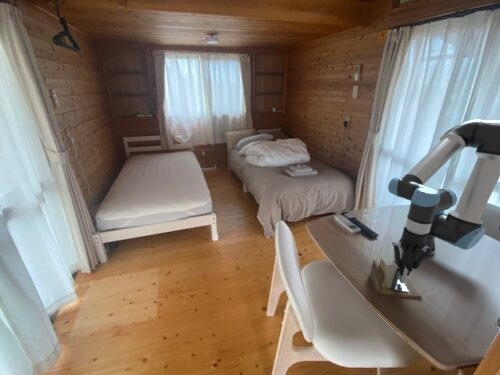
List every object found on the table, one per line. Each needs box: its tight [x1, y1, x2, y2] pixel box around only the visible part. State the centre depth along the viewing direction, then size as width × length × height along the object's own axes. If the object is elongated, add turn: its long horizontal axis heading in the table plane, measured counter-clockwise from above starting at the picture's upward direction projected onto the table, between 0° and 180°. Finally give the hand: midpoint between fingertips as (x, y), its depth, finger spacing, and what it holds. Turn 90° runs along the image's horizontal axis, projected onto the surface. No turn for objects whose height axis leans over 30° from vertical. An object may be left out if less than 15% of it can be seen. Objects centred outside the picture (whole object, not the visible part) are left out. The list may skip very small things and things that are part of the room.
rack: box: [369, 259, 423, 300], centre depth 96 cm, size 16×10×8 cm, turn 80°
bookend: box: [391, 267, 409, 293], centre depth 95 cm, size 6×8×9 cm
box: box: [378, 256, 399, 288], centre depth 95 cm, size 5×4×11 cm
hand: (401, 280), depth 96 cm, fingers closed
